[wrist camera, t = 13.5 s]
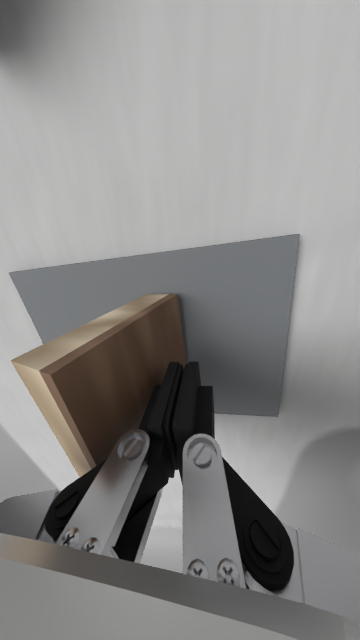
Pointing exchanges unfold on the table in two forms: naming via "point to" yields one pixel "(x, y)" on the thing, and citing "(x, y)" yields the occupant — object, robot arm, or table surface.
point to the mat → (190, 309)
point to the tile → (103, 375)
